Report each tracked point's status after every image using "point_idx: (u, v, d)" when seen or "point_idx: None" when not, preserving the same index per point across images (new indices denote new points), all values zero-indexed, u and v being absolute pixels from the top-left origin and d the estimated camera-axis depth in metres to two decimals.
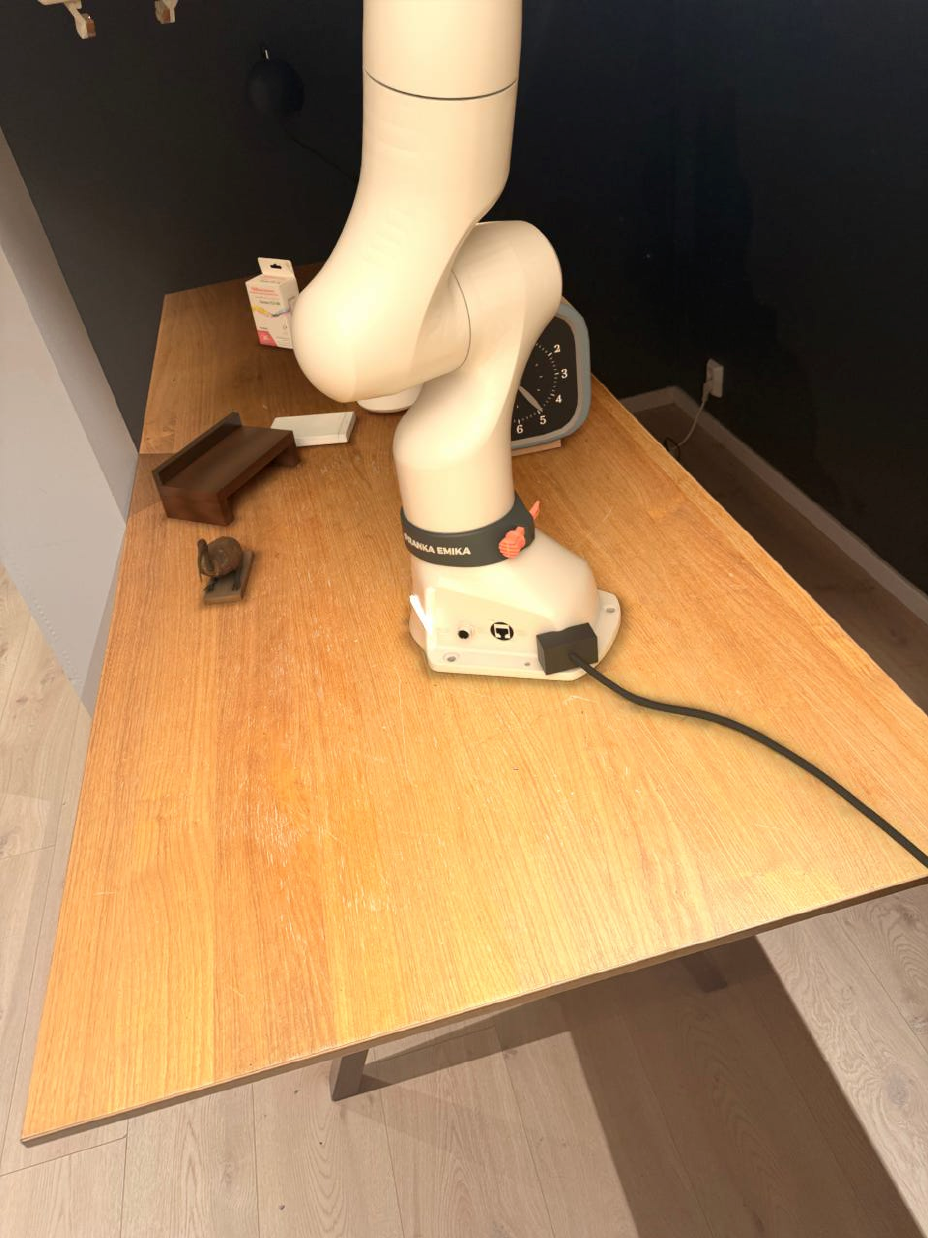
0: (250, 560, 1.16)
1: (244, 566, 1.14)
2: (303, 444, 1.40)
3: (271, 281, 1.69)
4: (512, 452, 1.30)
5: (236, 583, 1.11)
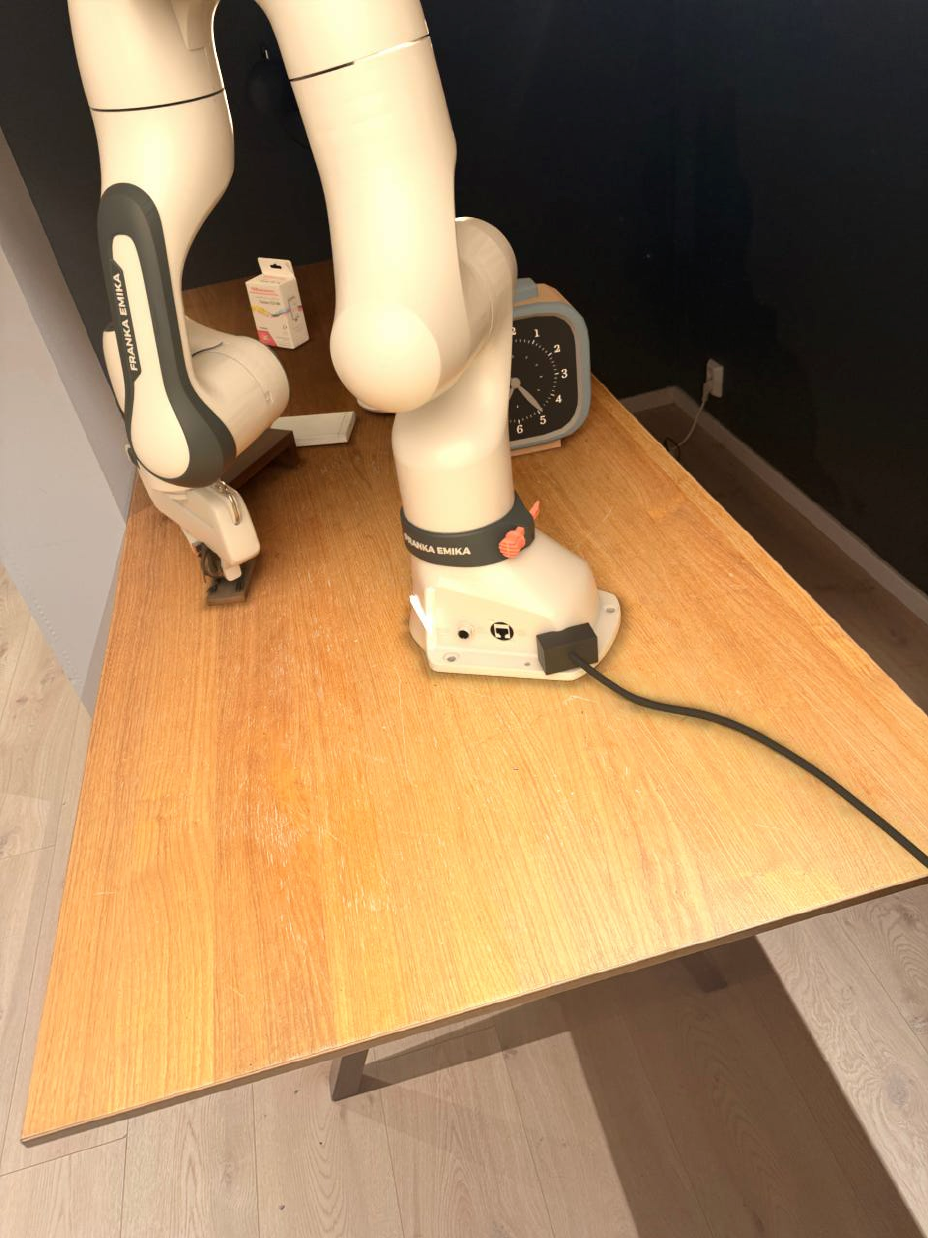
0: (253, 561, 1.15)
1: (247, 567, 1.14)
2: (303, 444, 1.40)
3: (271, 281, 1.69)
4: (512, 452, 1.30)
5: (239, 584, 1.10)
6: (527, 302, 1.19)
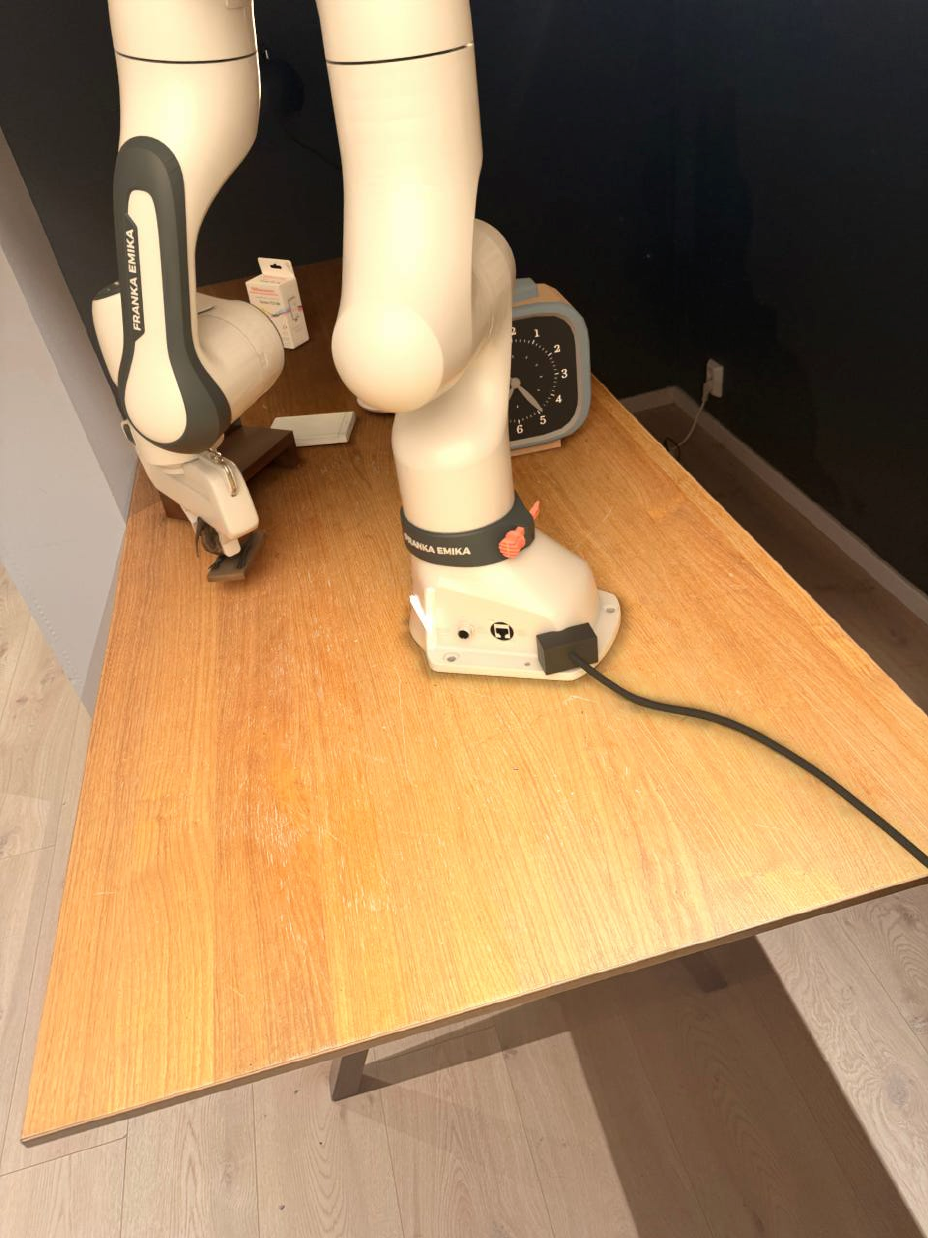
0: (261, 539, 1.13)
1: (253, 545, 1.12)
2: (303, 444, 1.40)
3: (271, 281, 1.69)
4: (512, 452, 1.30)
5: (241, 561, 1.08)
6: (527, 303, 1.19)
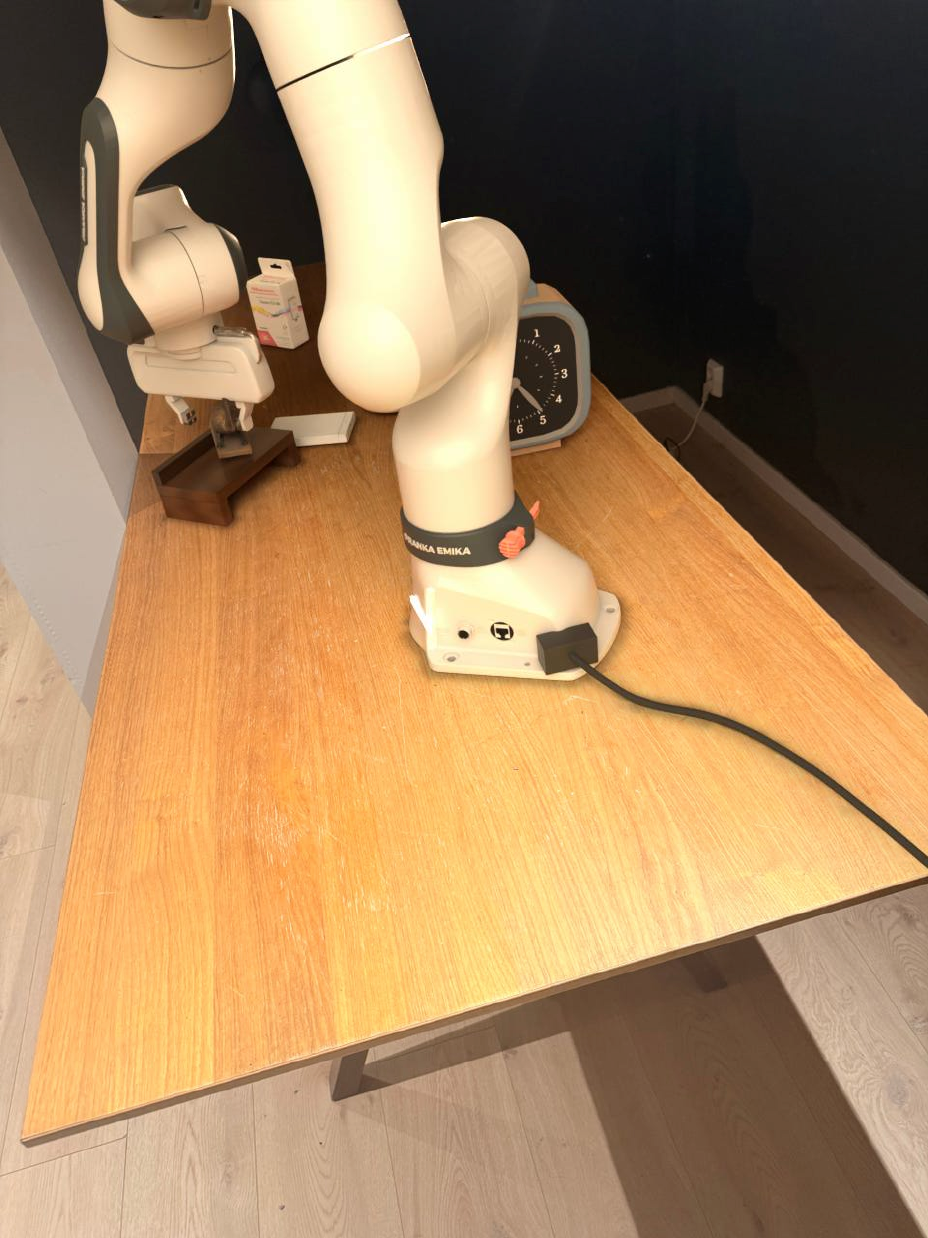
0: None
1: None
2: (303, 444, 1.40)
3: (271, 281, 1.69)
4: (512, 452, 1.30)
5: (244, 439, 1.27)
6: (527, 303, 1.19)
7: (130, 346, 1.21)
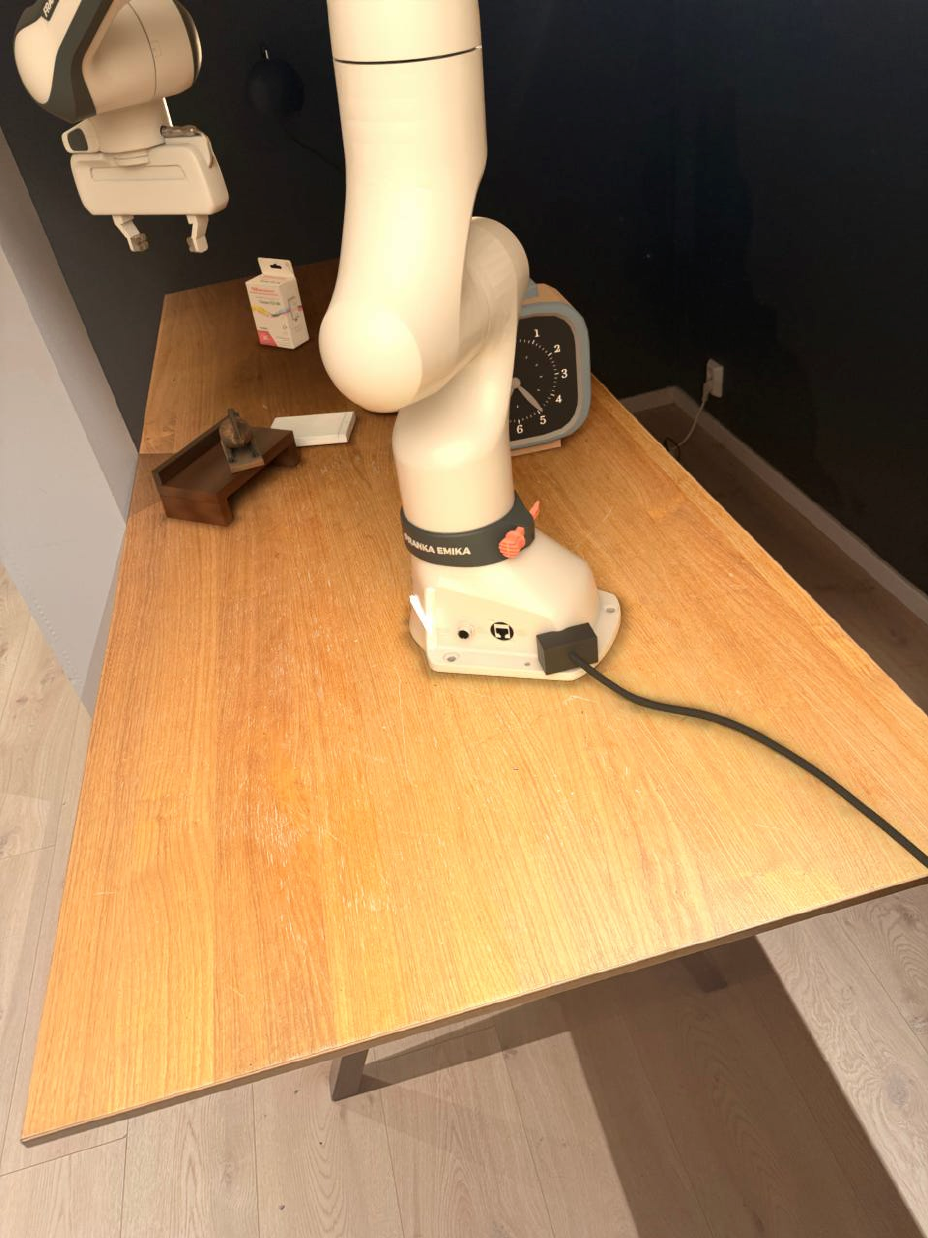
0: None
1: (252, 442, 1.30)
2: (303, 444, 1.40)
3: (271, 281, 1.69)
4: (512, 452, 1.30)
5: (255, 452, 1.27)
6: (527, 302, 1.19)
7: (73, 156, 1.12)
